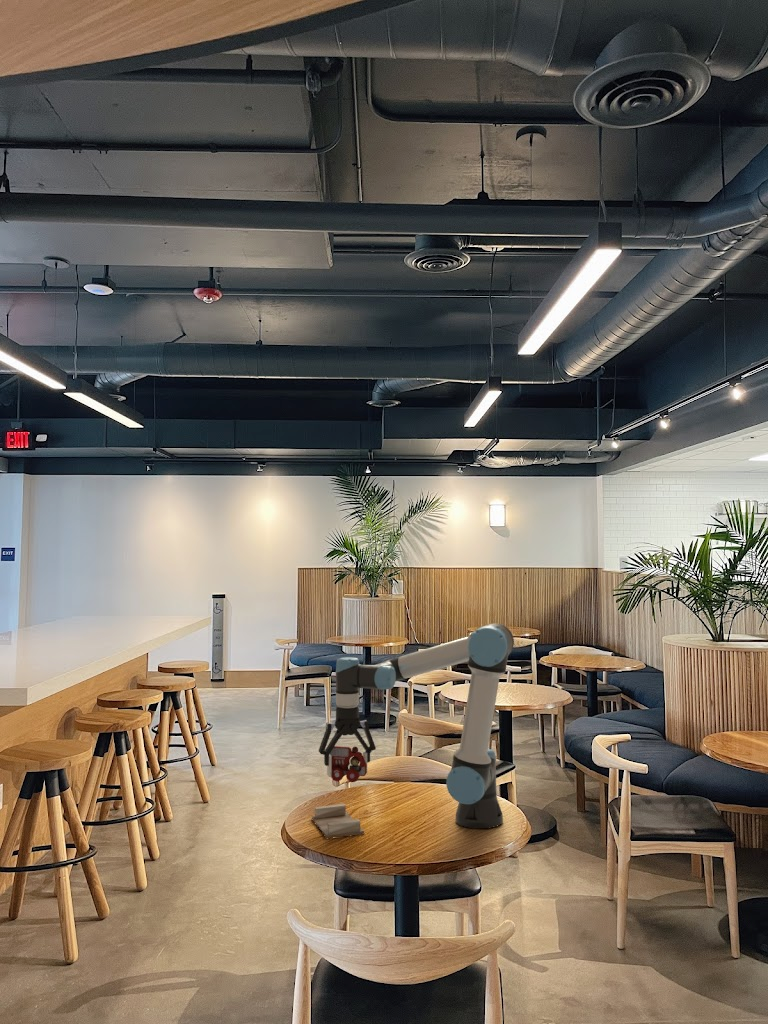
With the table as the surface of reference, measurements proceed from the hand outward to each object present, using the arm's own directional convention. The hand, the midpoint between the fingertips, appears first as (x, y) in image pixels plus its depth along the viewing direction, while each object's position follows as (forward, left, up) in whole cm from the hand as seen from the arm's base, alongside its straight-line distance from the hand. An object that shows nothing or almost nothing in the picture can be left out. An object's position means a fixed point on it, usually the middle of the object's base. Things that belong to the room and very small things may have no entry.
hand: (347, 774), depth 248 cm
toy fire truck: (0, 0, -2) cm, 2 cm away
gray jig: (-1, +4, -16) cm, 16 cm away
